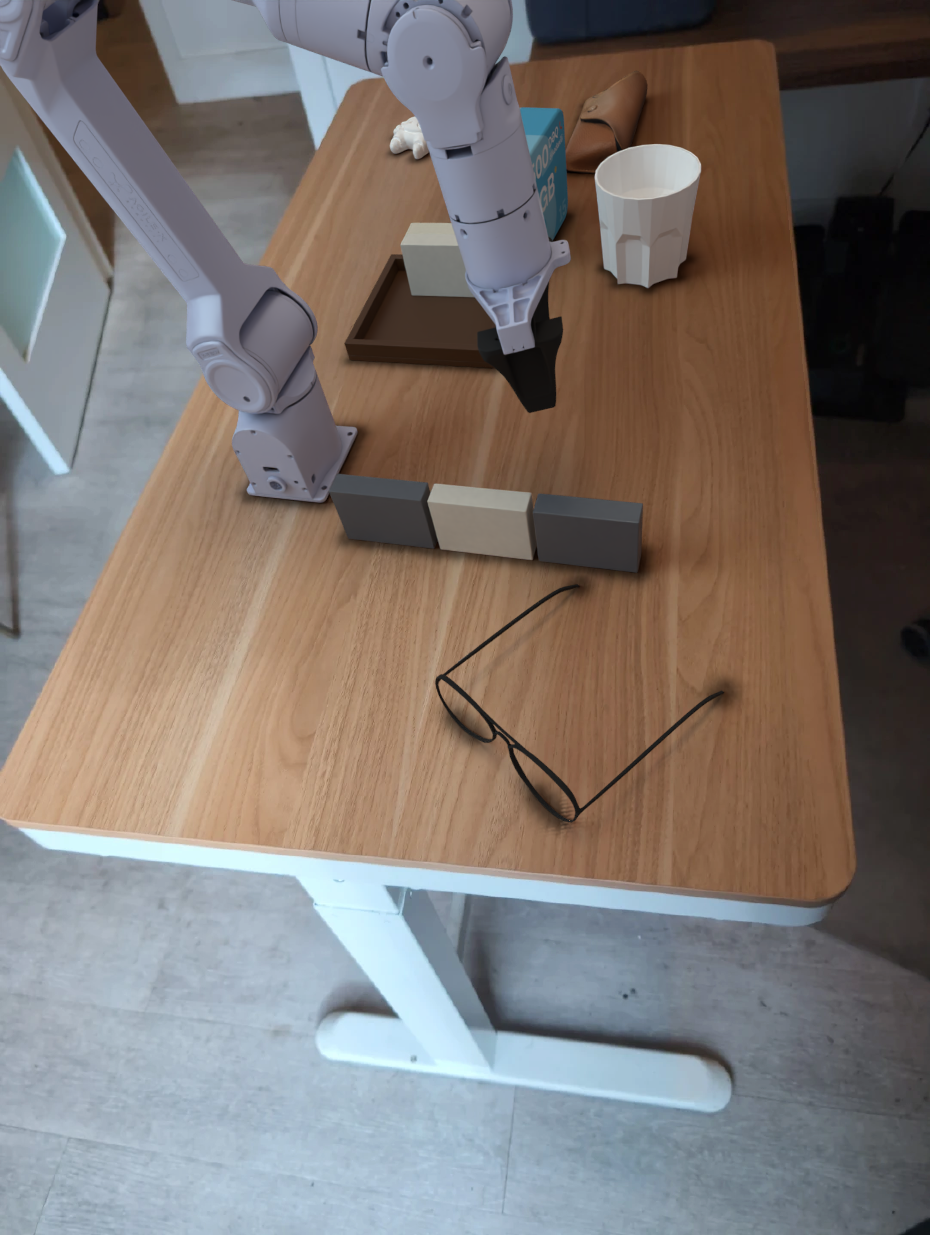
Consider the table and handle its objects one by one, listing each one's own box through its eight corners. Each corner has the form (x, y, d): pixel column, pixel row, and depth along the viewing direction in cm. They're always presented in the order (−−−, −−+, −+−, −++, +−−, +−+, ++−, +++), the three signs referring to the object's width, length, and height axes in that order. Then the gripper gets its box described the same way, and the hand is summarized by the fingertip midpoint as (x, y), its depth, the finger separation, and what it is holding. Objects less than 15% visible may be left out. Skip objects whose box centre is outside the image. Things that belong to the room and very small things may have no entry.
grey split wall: (637, 573, 66) (639, 523, 61) (347, 538, 72) (328, 491, 68) (641, 553, 67) (643, 502, 62) (355, 521, 74) (336, 473, 69)
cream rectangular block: (532, 560, 68) (526, 511, 63) (440, 549, 70) (426, 501, 65) (537, 541, 69) (531, 492, 64) (446, 531, 71) (434, 482, 66)
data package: (534, 274, 90) (525, 163, 81) (496, 270, 92) (482, 160, 82) (569, 213, 96) (563, 102, 87) (532, 210, 98) (523, 101, 88)
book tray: (493, 368, 83) (490, 350, 81) (349, 360, 87) (344, 343, 85) (528, 274, 91) (526, 256, 89) (395, 270, 95) (391, 254, 93)
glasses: (435, 705, 62) (429, 665, 58) (576, 598, 67) (579, 556, 63) (576, 839, 54) (579, 803, 50) (720, 706, 60) (733, 665, 56)
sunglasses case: (582, 98, 110) (607, 48, 105) (628, 125, 112) (655, 77, 106) (556, 170, 101) (582, 120, 95) (606, 199, 102) (635, 151, 97)
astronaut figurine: (376, 151, 112) (370, 127, 109) (432, 109, 116) (428, 86, 114) (425, 164, 108) (420, 139, 105) (481, 120, 112) (478, 96, 110)
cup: (583, 286, 88) (580, 194, 80) (615, 232, 93) (614, 141, 85) (677, 298, 84) (683, 204, 76) (704, 242, 89) (713, 148, 81)
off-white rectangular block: (482, 298, 88) (474, 245, 84) (411, 295, 91) (399, 244, 86) (491, 275, 91) (484, 223, 86) (422, 273, 93) (411, 222, 88)
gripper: (562, 240, 46) (601, 425, 57) (548, 128, 55) (584, 305, 66) (442, 274, 48) (501, 448, 58) (447, 159, 57) (497, 328, 67)
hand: (538, 374), depth 62 cm, fingers open, 7 cm apart
